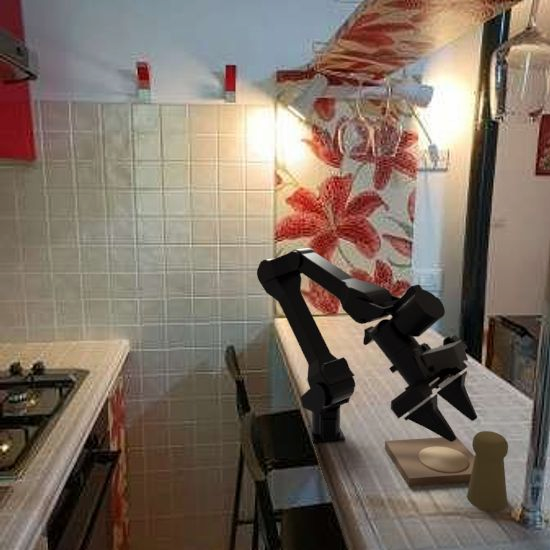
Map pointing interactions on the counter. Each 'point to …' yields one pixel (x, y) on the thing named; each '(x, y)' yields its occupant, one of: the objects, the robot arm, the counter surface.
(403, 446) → the plate
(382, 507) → the counter surface
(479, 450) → the pepper shaker
